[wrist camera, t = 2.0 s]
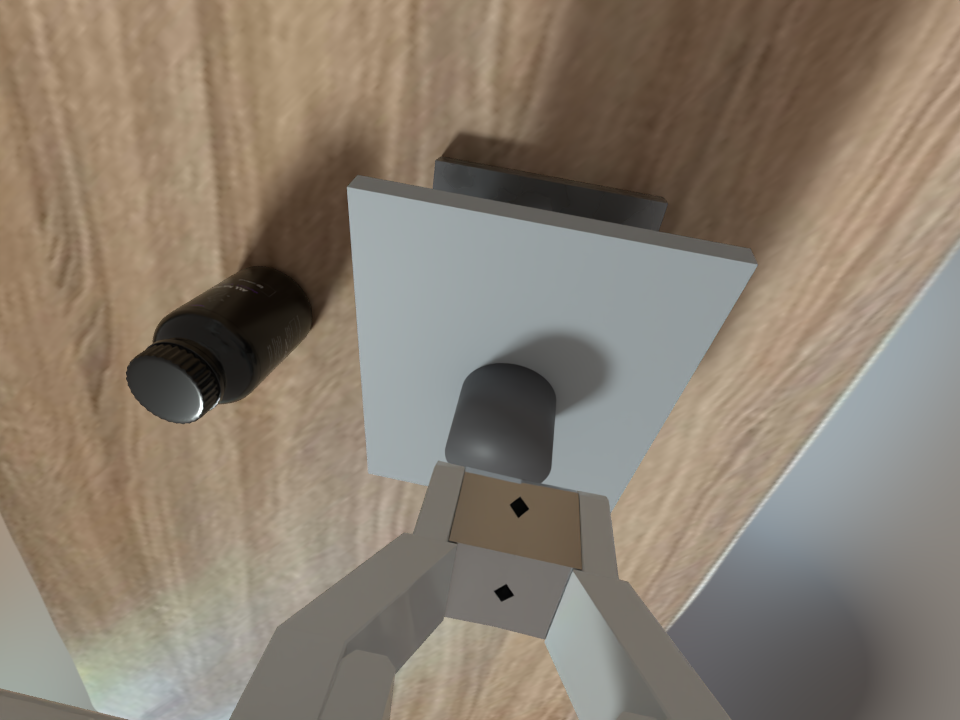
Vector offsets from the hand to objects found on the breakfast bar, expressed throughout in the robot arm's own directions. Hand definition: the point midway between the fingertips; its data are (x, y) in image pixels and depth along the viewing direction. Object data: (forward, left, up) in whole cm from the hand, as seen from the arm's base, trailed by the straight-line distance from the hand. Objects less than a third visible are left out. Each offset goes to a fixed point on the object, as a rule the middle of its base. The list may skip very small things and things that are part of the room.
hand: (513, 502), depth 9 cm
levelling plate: (+8, 0, -16) cm, 18 cm away
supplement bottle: (+12, -19, -26) cm, 35 cm away
